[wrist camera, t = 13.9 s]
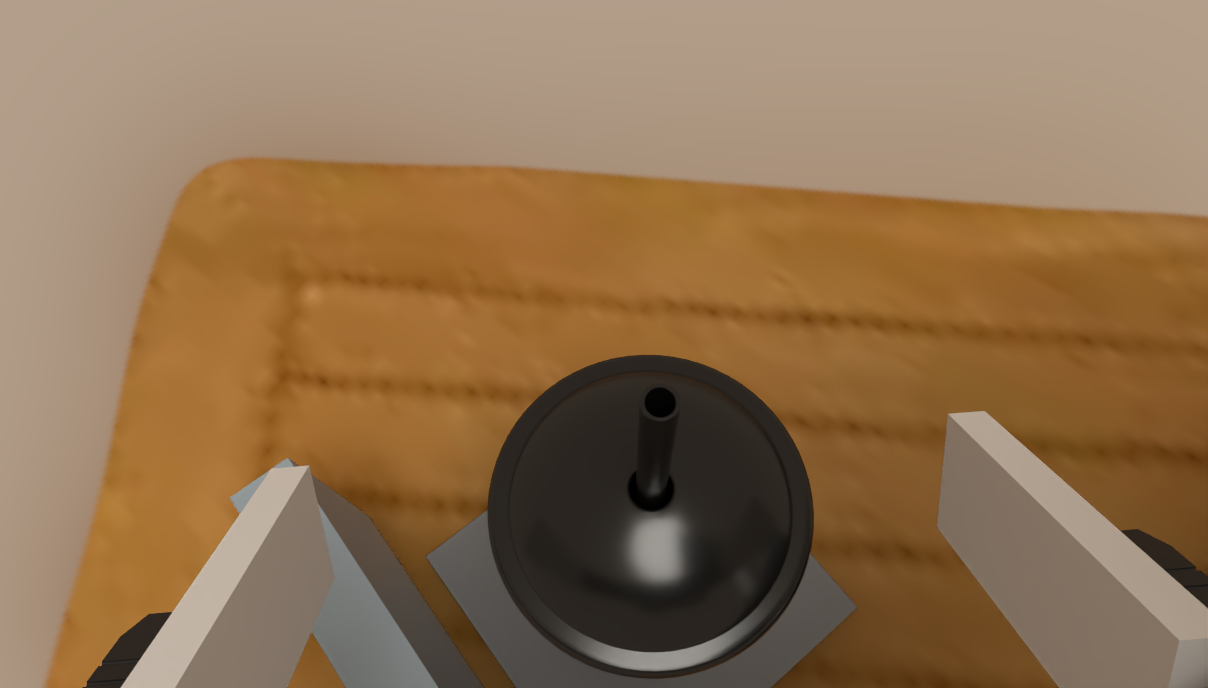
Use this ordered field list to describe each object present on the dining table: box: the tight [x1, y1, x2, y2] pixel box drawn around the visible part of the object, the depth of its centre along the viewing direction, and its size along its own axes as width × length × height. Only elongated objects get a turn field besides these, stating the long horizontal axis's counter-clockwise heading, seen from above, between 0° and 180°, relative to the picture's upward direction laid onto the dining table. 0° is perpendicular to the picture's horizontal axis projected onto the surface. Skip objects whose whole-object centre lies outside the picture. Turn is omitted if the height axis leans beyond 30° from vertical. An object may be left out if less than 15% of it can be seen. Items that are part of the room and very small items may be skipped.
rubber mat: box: [426, 510, 857, 688], centre depth 31 cm, size 12×12×1 cm
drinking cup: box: [488, 355, 814, 679], centre depth 22 cm, size 8×8×20 cm
